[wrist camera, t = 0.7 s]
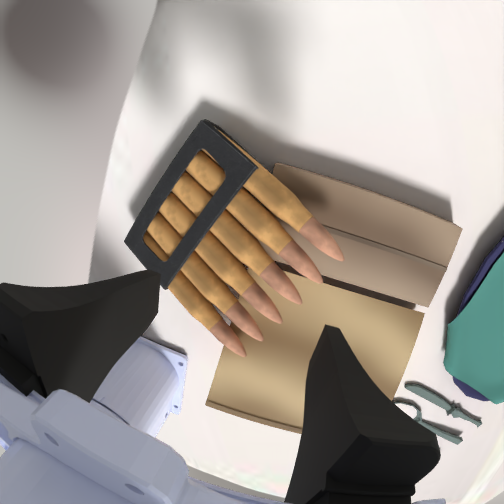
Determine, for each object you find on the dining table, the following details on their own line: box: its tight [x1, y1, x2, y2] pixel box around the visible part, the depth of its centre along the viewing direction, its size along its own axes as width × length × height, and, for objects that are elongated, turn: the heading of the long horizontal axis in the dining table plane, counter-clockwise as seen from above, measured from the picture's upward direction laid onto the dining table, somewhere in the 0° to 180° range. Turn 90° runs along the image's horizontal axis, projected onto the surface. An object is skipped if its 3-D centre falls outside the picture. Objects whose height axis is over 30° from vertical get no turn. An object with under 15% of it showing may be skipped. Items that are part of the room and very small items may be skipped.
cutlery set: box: [394, 237, 504, 456], centre depth 19 cm, size 20×30×2 cm, turn 150°
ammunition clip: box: [124, 119, 345, 357], centre depth 19 cm, size 11×2×12 cm
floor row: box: [256, 162, 462, 307], centre depth 19 cm, size 6×13×2 cm, turn 77°
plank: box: [205, 267, 425, 434], centre depth 20 cm, size 11×13×2 cm
